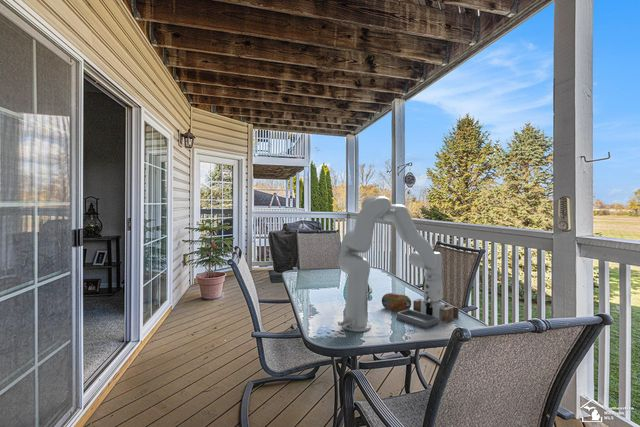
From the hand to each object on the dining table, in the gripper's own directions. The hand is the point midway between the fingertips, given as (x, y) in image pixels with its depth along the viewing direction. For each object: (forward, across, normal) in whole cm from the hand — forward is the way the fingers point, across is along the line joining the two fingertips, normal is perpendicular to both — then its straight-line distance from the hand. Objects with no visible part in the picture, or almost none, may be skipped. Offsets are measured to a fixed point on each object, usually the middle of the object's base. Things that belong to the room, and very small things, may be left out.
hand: (432, 313), depth 153 cm
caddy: (+1, 0, 0) cm, 1 cm away
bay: (+1, +2, 0) cm, 3 cm away
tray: (+1, -13, 0) cm, 13 cm away
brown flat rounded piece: (+2, -7, +16) cm, 18 cm away
